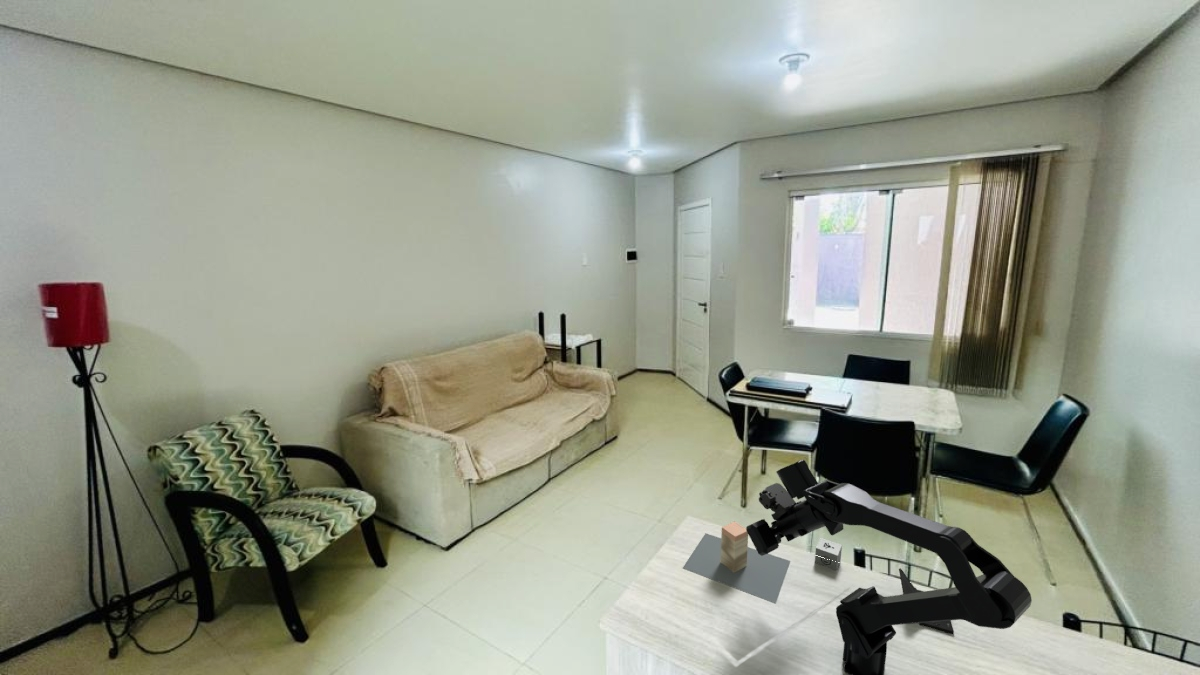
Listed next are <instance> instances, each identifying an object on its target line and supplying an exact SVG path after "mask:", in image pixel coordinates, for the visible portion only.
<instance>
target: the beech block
mask: <svg viewBox="0 0 1200 675" xmlns="http://www.w3.org/2000/svg"><path fill="white" fill-rule="evenodd" d="M720 538H721V563H722V564H724V565H725V566H726V567H727V568H729V569H730V570H731V571H732V572H736V571H738V570H740V569H742V568H744V567H746V566H747V549H748V547H749V545H748V543H749V535H748V533H747V531H746V528H745V527H744V526H742V525H741V524H740V523H738V522H736V521H732V522H730V523H728V524H726V525H724V526H722V527H721V537H720Z"/></svg>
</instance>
